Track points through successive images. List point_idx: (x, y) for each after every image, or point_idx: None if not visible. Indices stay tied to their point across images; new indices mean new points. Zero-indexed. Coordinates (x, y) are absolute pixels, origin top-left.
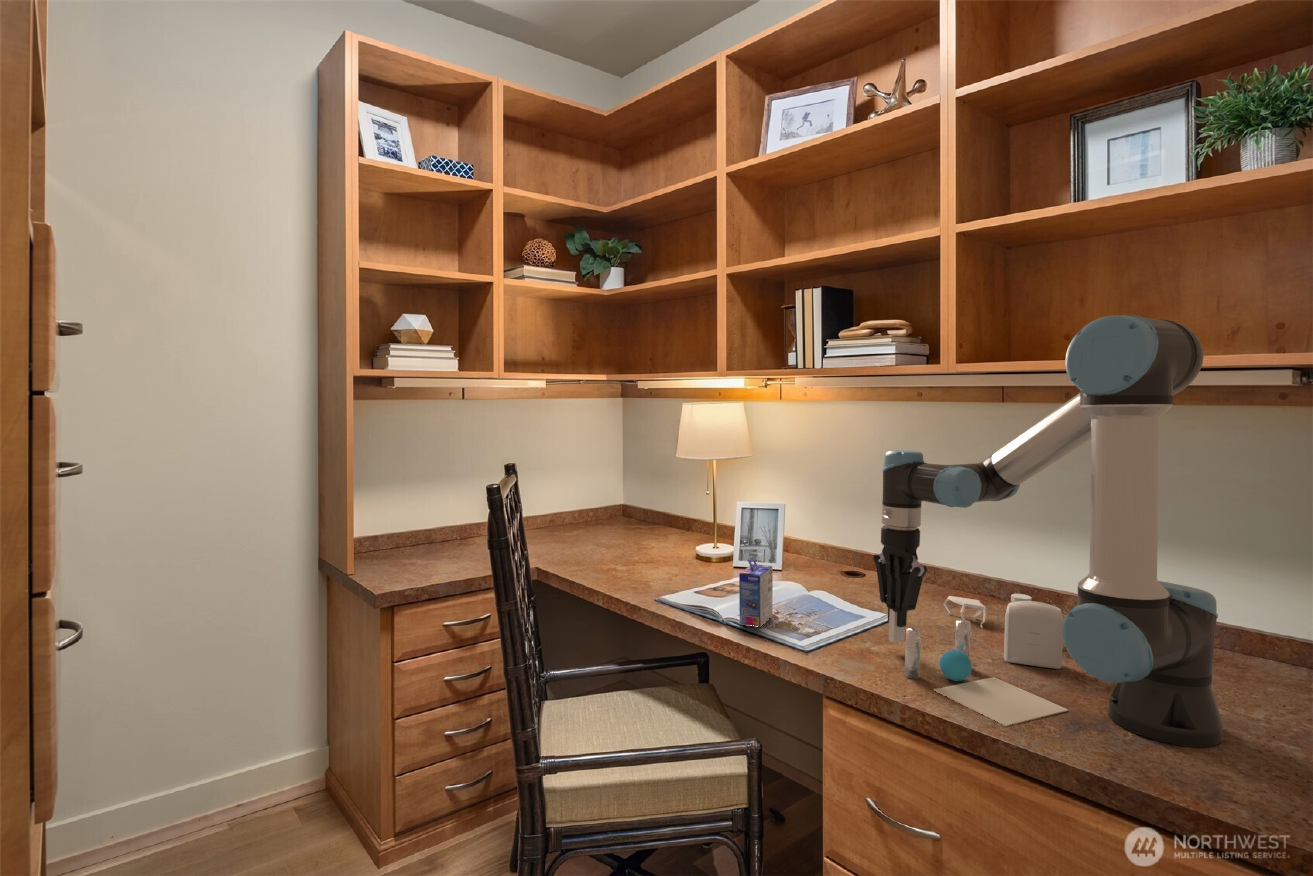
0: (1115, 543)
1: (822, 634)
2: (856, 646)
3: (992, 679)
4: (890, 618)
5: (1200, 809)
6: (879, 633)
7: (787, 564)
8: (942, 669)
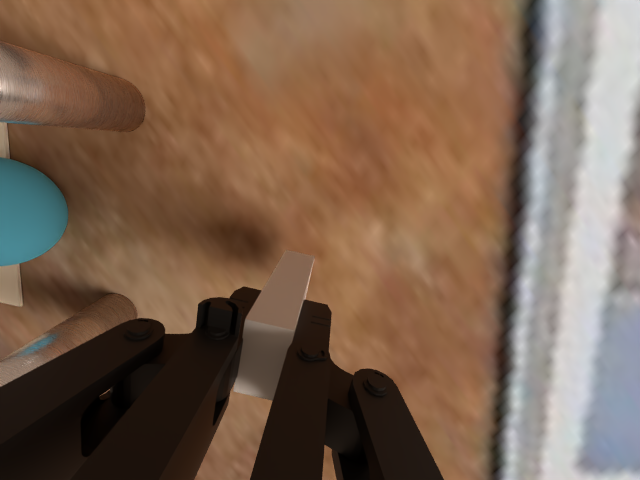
0: None
1: (608, 195)
2: (426, 195)
3: (6, 288)
4: (294, 299)
5: None
6: (448, 371)
7: None
8: (17, 162)
